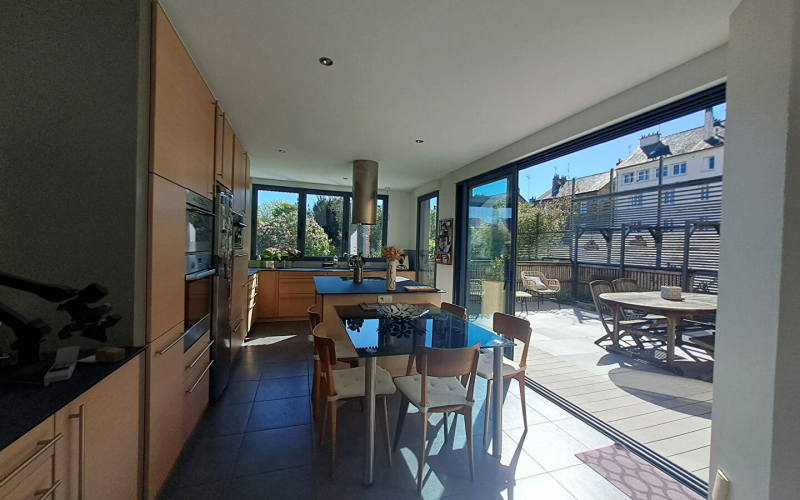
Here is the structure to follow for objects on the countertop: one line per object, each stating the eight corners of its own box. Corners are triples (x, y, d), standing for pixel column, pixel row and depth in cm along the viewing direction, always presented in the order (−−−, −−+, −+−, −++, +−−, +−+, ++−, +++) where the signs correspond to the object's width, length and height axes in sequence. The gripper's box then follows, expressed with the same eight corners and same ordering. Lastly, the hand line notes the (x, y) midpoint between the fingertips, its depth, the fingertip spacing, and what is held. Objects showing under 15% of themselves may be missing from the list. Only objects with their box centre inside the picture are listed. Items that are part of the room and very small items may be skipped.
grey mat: (76, 362, 115) (76, 361, 115) (94, 356, 121) (94, 355, 121) (94, 363, 114) (94, 362, 114) (111, 357, 120) (111, 356, 120)
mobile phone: (81, 344, 117) (68, 365, 98) (81, 359, 118) (68, 383, 98) (57, 348, 114) (40, 370, 94) (58, 363, 114) (40, 388, 95)
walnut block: (95, 350, 115) (114, 352, 115) (106, 346, 119) (125, 349, 119) (95, 360, 116) (114, 363, 115) (106, 356, 120) (124, 359, 119)
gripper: (64, 302, 108) (92, 335, 107) (118, 294, 127) (142, 321, 126) (45, 323, 109) (72, 355, 108) (101, 312, 128) (124, 339, 127)
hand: (105, 341), depth 117 cm, fingers closed
